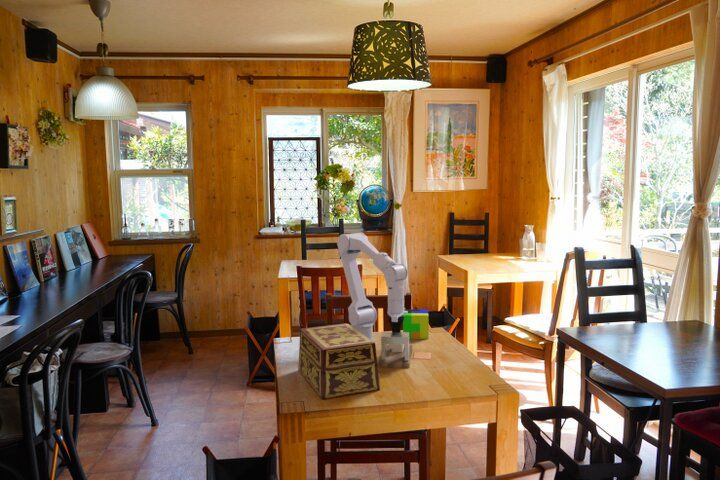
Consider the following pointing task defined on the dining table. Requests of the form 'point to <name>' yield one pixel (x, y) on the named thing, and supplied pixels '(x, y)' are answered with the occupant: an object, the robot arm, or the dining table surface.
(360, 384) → the decorative box
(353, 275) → the robot arm
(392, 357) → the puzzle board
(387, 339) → the sliding cover
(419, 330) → the puzzle toy
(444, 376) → the dining table surface
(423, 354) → the terracotta tile
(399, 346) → the cream block
